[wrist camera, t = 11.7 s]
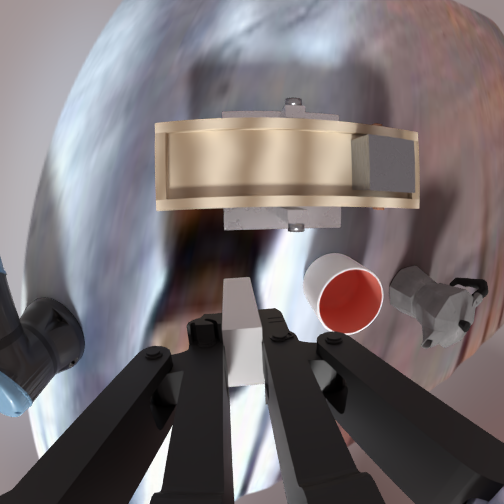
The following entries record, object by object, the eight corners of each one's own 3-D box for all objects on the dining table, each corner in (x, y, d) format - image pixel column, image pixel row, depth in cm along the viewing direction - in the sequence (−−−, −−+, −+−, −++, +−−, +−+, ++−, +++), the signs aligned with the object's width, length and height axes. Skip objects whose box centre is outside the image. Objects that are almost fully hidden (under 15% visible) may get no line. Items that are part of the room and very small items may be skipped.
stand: (224, 229, 45) (220, 241, 34) (222, 113, 41) (218, 90, 30) (338, 226, 46) (366, 238, 35) (336, 116, 42) (363, 98, 31)
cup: (304, 249, 46) (321, 265, 36) (361, 252, 47) (389, 268, 37) (298, 308, 48) (312, 336, 38) (352, 308, 49) (376, 333, 39)
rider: (352, 189, 33) (369, 190, 28) (350, 140, 32) (368, 134, 27) (393, 191, 33) (415, 193, 28) (392, 145, 32) (413, 140, 27)
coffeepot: (389, 326, 50) (440, 376, 33) (371, 290, 48) (426, 335, 31) (446, 280, 49) (506, 312, 31) (432, 242, 47) (499, 265, 30)
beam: (164, 211, 35) (156, 213, 31) (162, 126, 32) (155, 120, 29) (405, 208, 36) (419, 211, 33) (403, 133, 34) (417, 130, 31)
